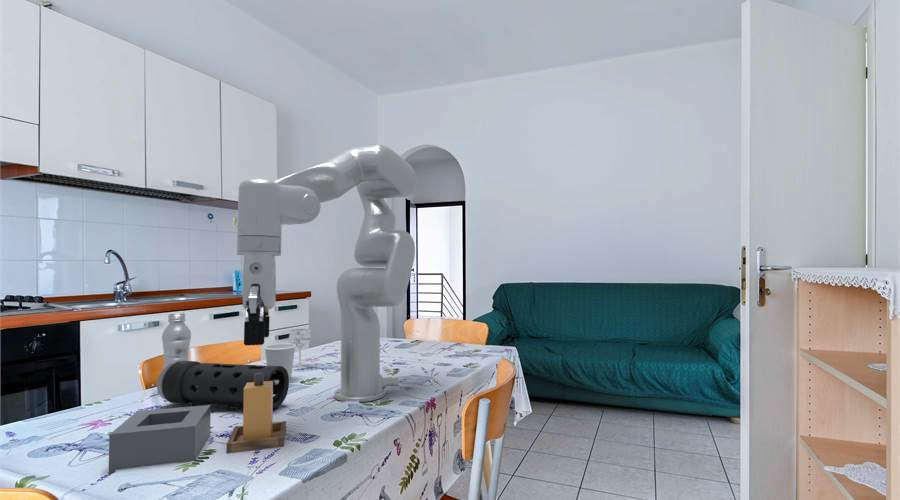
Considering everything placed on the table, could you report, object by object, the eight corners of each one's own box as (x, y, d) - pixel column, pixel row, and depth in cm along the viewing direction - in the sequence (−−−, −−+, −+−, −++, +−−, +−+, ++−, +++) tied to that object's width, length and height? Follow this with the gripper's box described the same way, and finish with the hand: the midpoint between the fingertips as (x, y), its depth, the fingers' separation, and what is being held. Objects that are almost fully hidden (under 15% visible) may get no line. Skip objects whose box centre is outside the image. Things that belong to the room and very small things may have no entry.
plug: (272, 434, 85) (273, 370, 86) (270, 443, 81) (271, 375, 82) (246, 437, 84) (247, 371, 85) (243, 446, 80) (243, 377, 80)
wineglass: (284, 370, 141) (284, 331, 141) (295, 365, 147) (295, 328, 148) (304, 371, 140) (305, 332, 140) (314, 366, 146) (315, 328, 147)
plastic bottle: (168, 389, 120) (169, 313, 120) (195, 388, 120) (196, 312, 121) (154, 396, 113) (155, 315, 114) (183, 395, 114) (184, 315, 114)
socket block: (210, 436, 86) (210, 404, 86) (194, 463, 74) (195, 425, 74) (136, 444, 82) (137, 411, 82) (108, 473, 71) (109, 434, 71)
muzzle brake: (265, 419, 96) (265, 369, 96) (153, 411, 102) (153, 365, 102) (289, 405, 105) (290, 360, 106) (185, 399, 111) (186, 356, 111)
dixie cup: (284, 376, 133) (284, 342, 133) (301, 380, 128) (302, 345, 128) (257, 382, 126) (257, 346, 126) (275, 387, 121) (275, 349, 121)
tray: (286, 431, 88) (286, 421, 88) (283, 449, 80) (283, 437, 80) (234, 437, 86) (234, 426, 86) (226, 456, 77) (226, 444, 77)
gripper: (278, 244, 77) (275, 347, 76) (283, 250, 93) (281, 334, 92) (229, 244, 74) (226, 349, 74) (243, 249, 91) (241, 335, 90)
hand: (257, 340), depth 83 cm, fingers open, 9 cm apart
